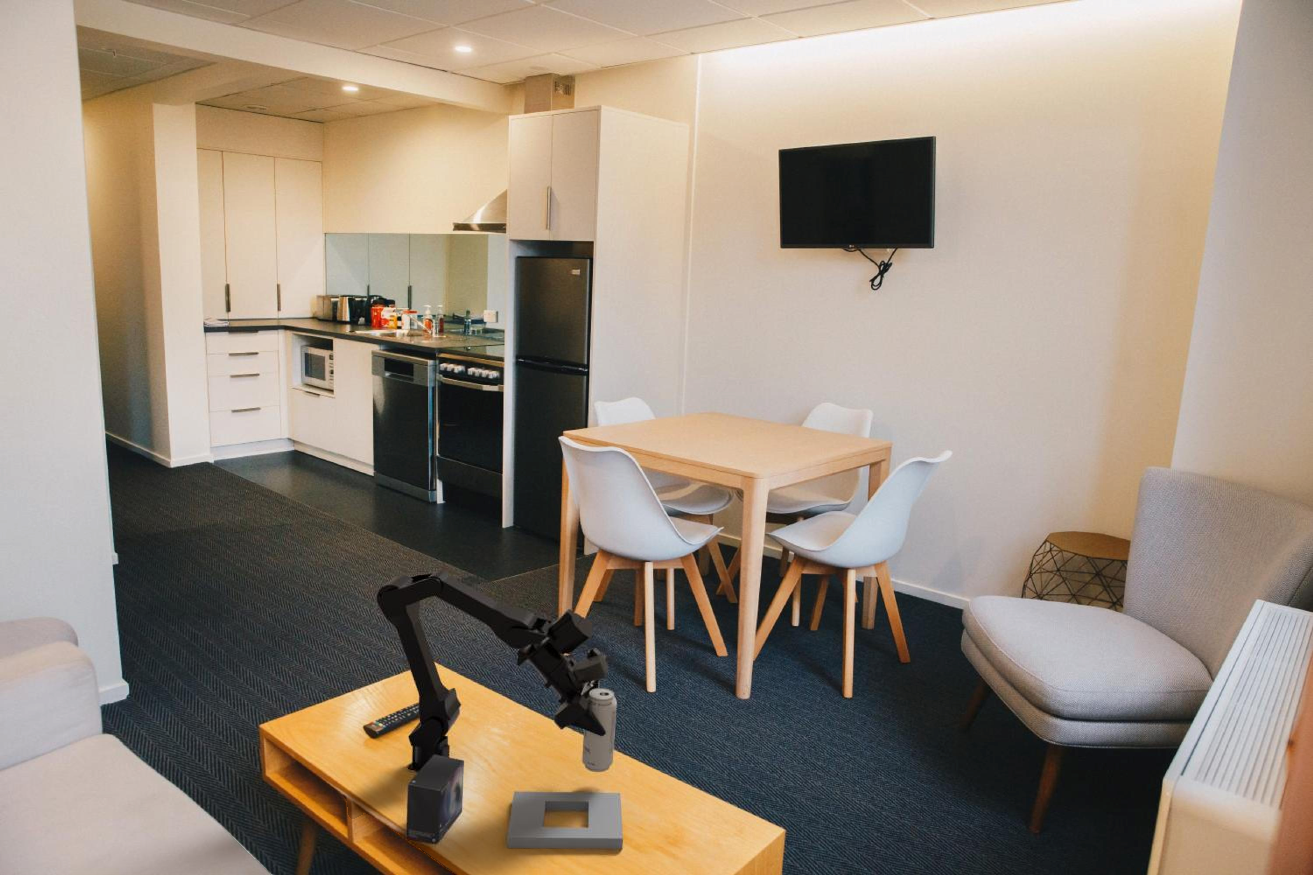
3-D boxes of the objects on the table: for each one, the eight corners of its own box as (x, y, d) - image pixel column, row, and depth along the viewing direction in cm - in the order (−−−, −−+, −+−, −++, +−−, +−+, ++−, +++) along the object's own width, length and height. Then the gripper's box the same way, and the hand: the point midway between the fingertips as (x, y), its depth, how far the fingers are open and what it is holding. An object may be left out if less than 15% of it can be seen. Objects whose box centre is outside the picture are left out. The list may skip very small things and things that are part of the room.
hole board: (506, 847, 151) (507, 837, 151) (513, 800, 165) (514, 791, 164) (622, 848, 153) (623, 838, 152) (619, 802, 166) (620, 792, 166)
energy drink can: (581, 756, 174) (585, 686, 171) (612, 757, 174) (616, 686, 172) (581, 773, 168) (586, 700, 165) (613, 773, 168) (618, 701, 166)
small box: (439, 845, 150) (440, 790, 149) (404, 839, 152) (405, 783, 150) (464, 811, 161) (466, 758, 159) (431, 805, 162) (432, 752, 160)
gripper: (575, 661, 158) (631, 725, 159) (593, 624, 176) (643, 681, 177) (530, 697, 160) (586, 760, 161) (552, 656, 178) (602, 713, 179)
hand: (606, 726), depth 169 cm, fingers closed on energy drink can, 6 cm apart
